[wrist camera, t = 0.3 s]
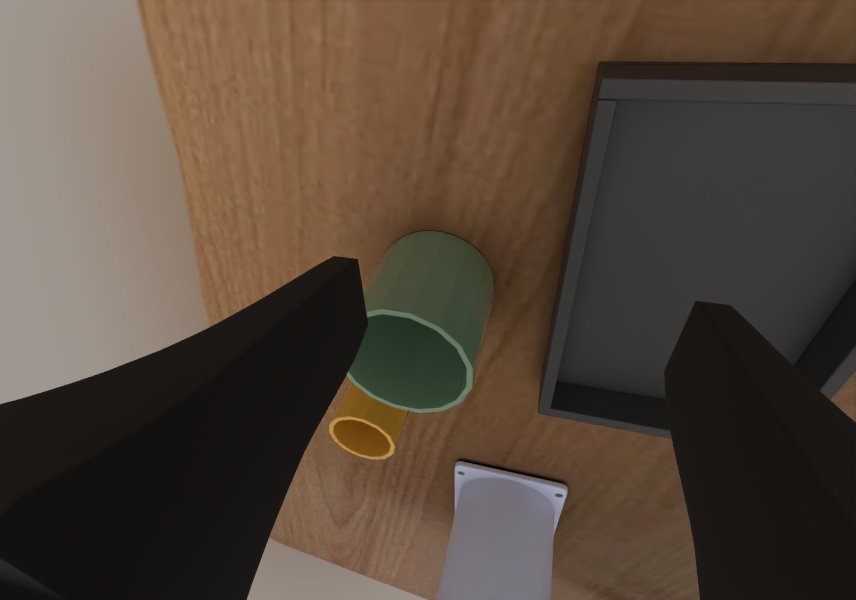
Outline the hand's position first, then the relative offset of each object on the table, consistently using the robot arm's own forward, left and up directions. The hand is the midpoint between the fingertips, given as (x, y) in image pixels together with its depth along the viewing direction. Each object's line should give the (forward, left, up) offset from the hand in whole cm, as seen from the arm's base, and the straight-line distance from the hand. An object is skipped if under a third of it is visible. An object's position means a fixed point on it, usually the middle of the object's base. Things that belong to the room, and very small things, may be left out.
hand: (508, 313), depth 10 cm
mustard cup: (-14, +7, -10) cm, 18 cm away
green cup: (-7, +4, -10) cm, 13 cm away
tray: (-5, -7, -10) cm, 13 cm away
